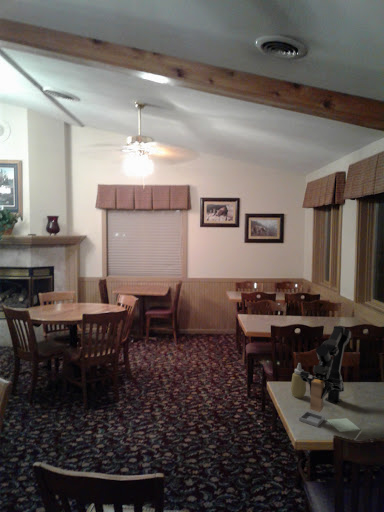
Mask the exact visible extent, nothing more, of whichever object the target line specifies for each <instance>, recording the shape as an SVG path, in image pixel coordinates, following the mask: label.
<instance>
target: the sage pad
mask: <svg viewBox="0 0 384 512" xmlns="http://www.w3.org/2000/svg"><path fill="white" fill-rule="evenodd" d="M326 421H327V422H328V423H329V424H330V425H331V426H332V427H333V428H334V429H336V431H338V432H339V433H343V432H355V431H360V430H361V429H360V428H359V426H357V425H356V424H355V423H354V422H352V421H351V420H350V419H348V418H345V417H344V418H331V419H327V420H326Z"/></svg>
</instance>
